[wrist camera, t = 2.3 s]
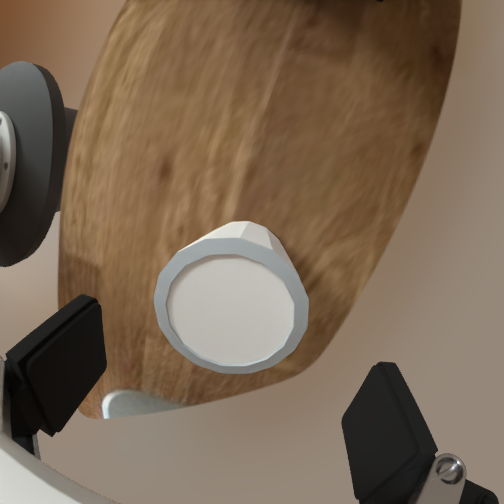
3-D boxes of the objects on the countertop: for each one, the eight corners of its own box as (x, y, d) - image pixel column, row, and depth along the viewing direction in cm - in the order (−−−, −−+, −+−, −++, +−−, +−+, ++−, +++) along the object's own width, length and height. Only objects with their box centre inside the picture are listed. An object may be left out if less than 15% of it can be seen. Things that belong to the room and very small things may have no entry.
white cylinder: (188, 300, 19) (154, 360, 12) (197, 203, 17) (154, 225, 10) (284, 316, 19) (290, 384, 12) (304, 220, 17) (327, 253, 10)
